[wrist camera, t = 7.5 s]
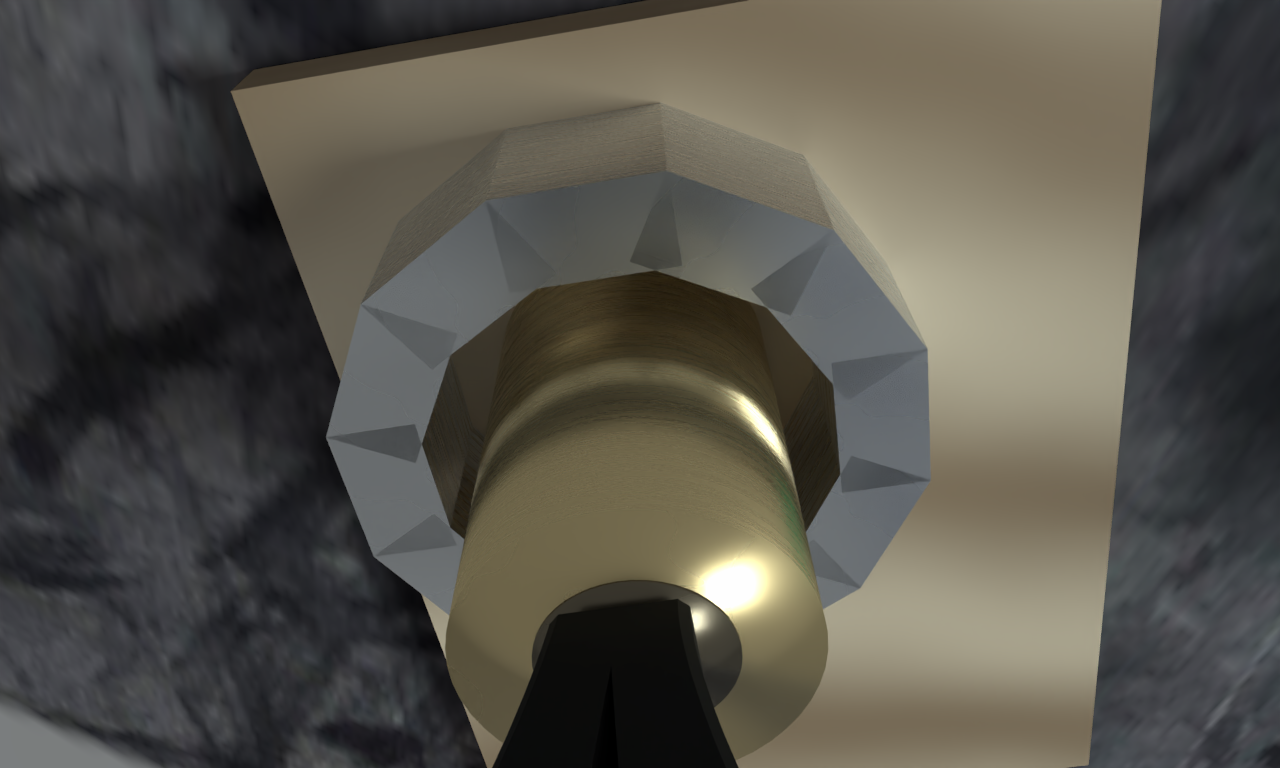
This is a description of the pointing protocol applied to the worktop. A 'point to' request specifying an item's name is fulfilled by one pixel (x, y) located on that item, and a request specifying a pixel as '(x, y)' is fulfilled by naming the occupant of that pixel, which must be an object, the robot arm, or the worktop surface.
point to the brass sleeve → (638, 499)
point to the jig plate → (917, 257)
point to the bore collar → (614, 246)
